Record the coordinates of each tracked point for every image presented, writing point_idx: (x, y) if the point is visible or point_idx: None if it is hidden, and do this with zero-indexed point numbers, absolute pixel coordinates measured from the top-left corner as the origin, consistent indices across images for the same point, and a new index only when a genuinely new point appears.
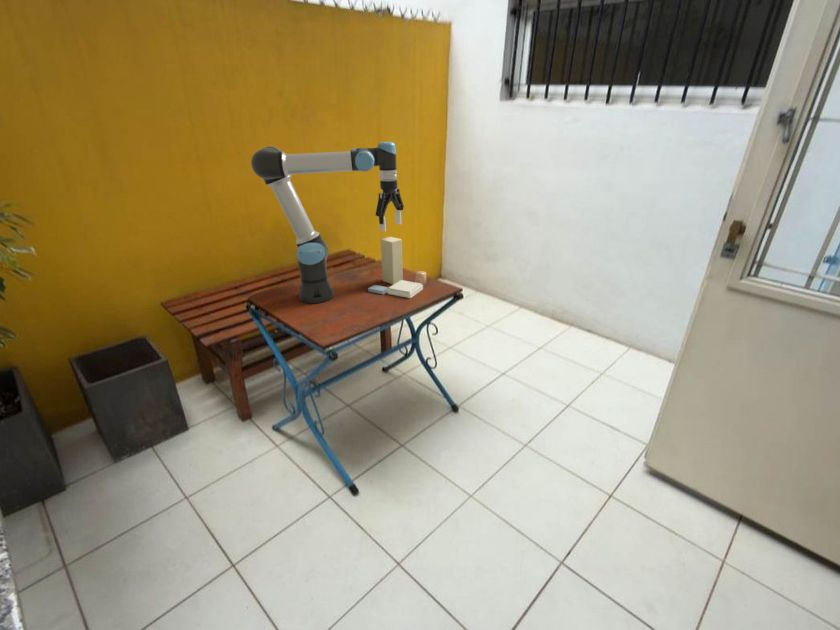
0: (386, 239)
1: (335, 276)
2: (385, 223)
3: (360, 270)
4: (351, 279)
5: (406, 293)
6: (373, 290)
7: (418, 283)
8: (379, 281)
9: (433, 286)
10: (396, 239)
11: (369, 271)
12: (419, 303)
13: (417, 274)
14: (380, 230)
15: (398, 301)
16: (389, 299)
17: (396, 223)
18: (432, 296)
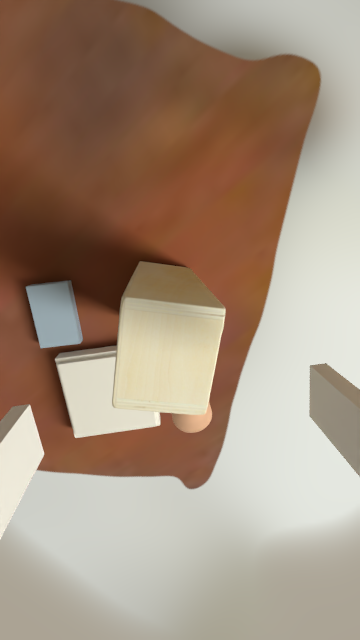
0: (141, 338)
1: (54, 16)
2: (7, 521)
3: (185, 76)
4: (75, 127)
5: (72, 425)
6: (33, 309)
7: (151, 418)
8: (129, 252)
9: None
10: (183, 391)
11: (197, 129)
12: (66, 466)
13: (172, 415)
14: (12, 413)
15: (37, 415)
16: (29, 386)
17: (312, 375)
18: (129, 466)
